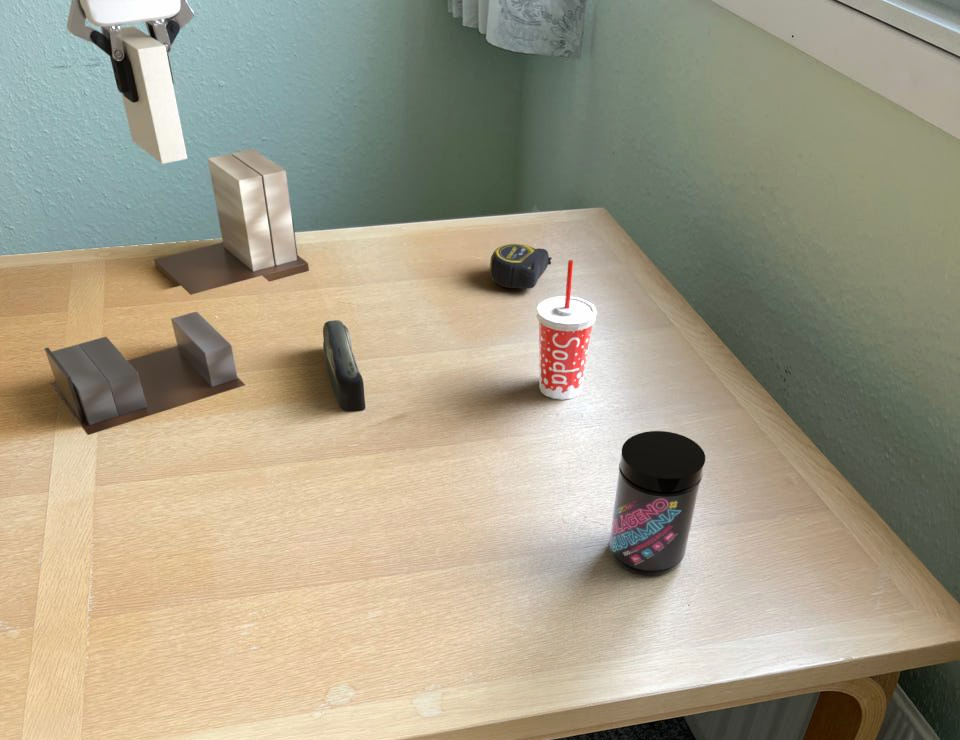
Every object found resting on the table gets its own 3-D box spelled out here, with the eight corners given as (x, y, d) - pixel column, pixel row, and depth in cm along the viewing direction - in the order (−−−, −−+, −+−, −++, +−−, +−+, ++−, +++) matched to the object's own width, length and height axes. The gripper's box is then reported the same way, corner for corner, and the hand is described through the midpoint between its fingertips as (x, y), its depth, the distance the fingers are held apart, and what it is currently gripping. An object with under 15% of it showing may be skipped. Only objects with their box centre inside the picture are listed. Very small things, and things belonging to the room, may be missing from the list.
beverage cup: (523, 395, 102) (529, 267, 92) (545, 369, 106) (553, 243, 96) (577, 408, 100) (589, 279, 90) (596, 381, 104) (610, 254, 94)
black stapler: (367, 376, 95) (340, 305, 105) (337, 380, 95) (313, 309, 105) (370, 419, 99) (344, 346, 109) (342, 423, 98) (318, 350, 108)
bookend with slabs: (192, 302, 117) (170, 201, 108) (155, 266, 123) (132, 169, 115) (309, 270, 123) (297, 172, 115) (267, 238, 130) (253, 144, 121)
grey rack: (90, 443, 95) (73, 389, 91) (52, 390, 102) (34, 338, 98) (247, 393, 102) (237, 341, 98) (202, 347, 109) (191, 296, 105)
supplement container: (594, 539, 85) (606, 440, 78) (660, 522, 87) (678, 423, 80) (629, 586, 81) (646, 486, 73) (698, 568, 83) (722, 468, 75)
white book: (161, 164, 104) (137, 49, 96) (132, 140, 109) (106, 29, 102) (187, 159, 105) (165, 45, 98) (157, 135, 111) (133, 26, 103)
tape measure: (533, 298, 118) (535, 268, 116) (481, 288, 120) (482, 259, 117) (550, 275, 123) (552, 246, 120) (500, 266, 124) (501, 238, 122)
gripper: (169, -129, 96) (204, 76, 109) (3, -117, 89) (61, 99, 102) (199, -120, 92) (232, 93, 105) (26, -106, 85) (84, 119, 98)
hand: (147, 94), depth 103 cm, fingers closed on white book, 3 cm apart
